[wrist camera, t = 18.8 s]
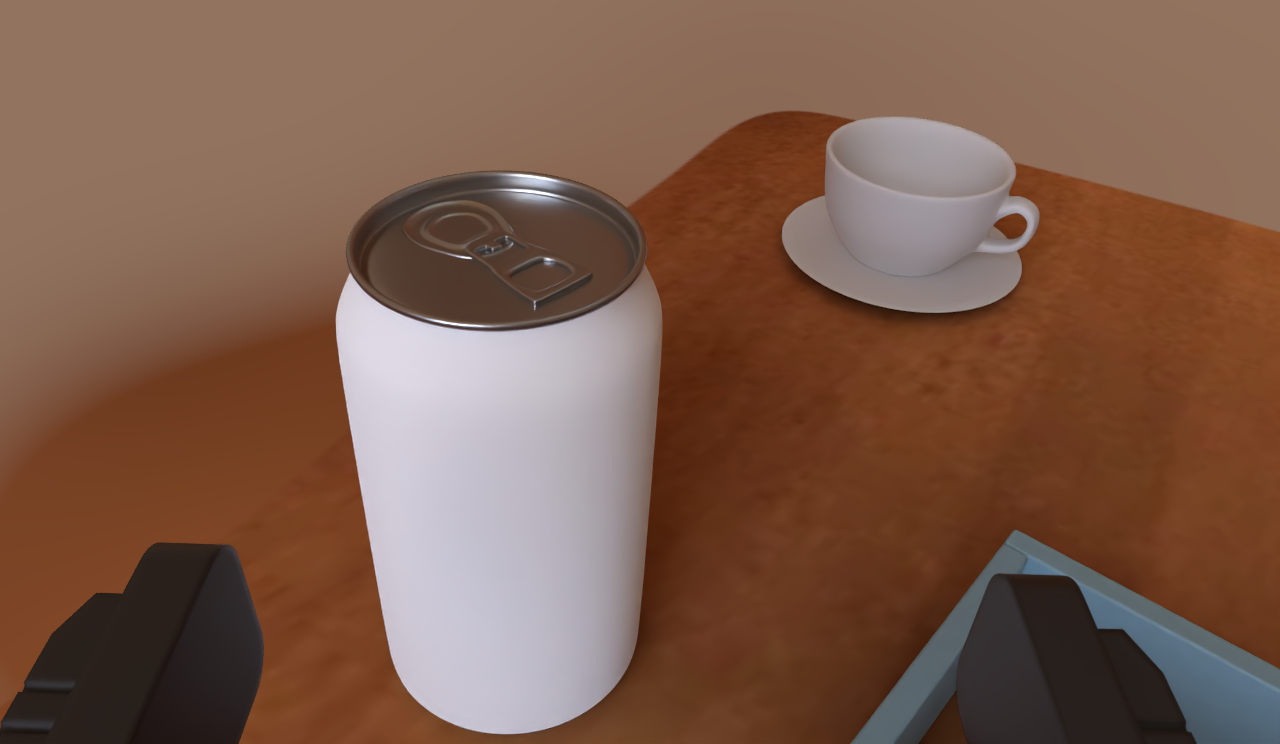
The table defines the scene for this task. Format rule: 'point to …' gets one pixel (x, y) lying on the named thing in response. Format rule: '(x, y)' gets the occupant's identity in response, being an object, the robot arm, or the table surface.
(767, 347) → the table surface
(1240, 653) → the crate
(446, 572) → the can
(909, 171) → the teacup
